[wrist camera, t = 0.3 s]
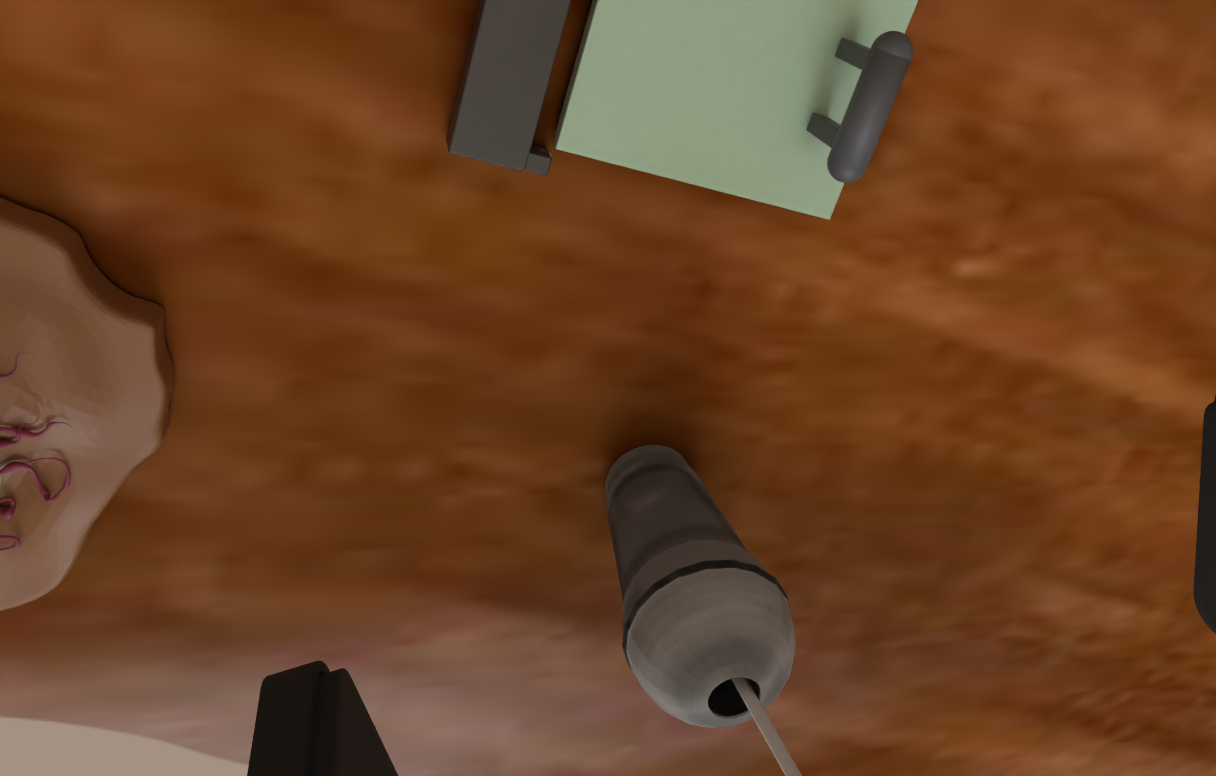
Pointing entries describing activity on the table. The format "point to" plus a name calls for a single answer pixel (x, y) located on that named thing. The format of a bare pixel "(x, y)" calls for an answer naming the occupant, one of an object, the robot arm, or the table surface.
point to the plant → (67, 397)
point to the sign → (739, 92)
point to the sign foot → (507, 83)
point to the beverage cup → (695, 600)
